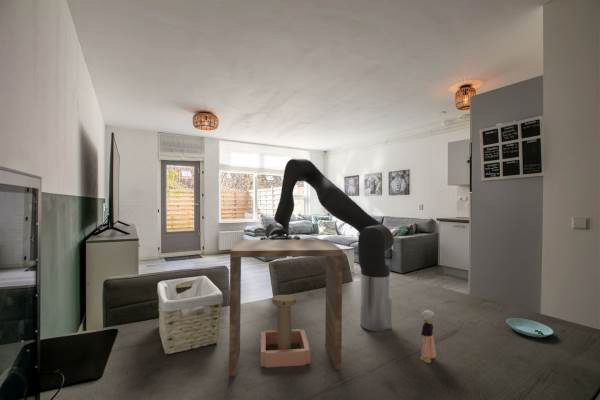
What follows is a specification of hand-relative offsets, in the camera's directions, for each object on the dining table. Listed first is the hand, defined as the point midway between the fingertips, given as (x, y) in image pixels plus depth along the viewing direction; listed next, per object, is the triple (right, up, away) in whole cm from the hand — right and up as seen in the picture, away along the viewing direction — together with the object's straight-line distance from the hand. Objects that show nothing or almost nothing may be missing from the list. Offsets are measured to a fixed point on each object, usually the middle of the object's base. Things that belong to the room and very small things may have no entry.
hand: (281, 243), depth 97 cm
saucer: (+80, -28, -5) cm, 85 cm away
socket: (+2, -27, -19) cm, 33 cm away
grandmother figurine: (+40, -28, -21) cm, 53 cm away
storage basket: (-28, -27, -9) cm, 40 cm away
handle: (+2, -27, -19) cm, 33 cm away
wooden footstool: (+2, -27, -19) cm, 33 cm away
